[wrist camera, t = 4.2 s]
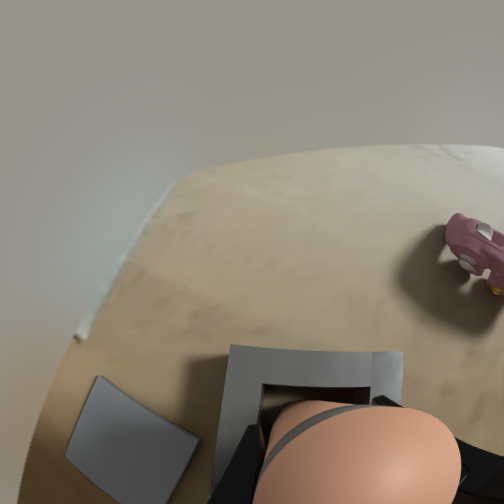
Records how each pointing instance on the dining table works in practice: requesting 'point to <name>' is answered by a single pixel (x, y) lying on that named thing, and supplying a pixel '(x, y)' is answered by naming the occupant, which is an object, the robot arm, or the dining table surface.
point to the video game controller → (477, 249)
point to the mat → (129, 447)
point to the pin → (358, 456)
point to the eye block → (295, 385)
